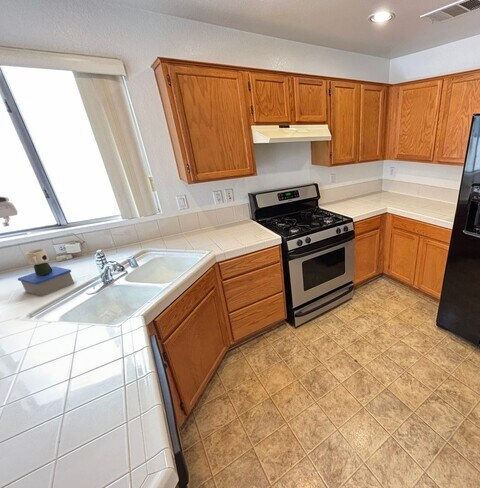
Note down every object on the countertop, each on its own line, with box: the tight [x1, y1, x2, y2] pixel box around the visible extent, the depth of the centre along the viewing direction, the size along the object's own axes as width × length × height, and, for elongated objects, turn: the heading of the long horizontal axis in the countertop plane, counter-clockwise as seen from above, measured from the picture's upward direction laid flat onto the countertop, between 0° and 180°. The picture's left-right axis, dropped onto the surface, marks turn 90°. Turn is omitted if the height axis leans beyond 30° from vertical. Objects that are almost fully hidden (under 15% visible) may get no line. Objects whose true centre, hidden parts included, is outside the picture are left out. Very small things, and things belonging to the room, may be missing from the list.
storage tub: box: [17, 266, 75, 297], centre depth 140 cm, size 15×15×8 cm
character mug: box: [24, 248, 53, 275], centre depth 136 cm, size 11×7×13 cm, turn 34°
